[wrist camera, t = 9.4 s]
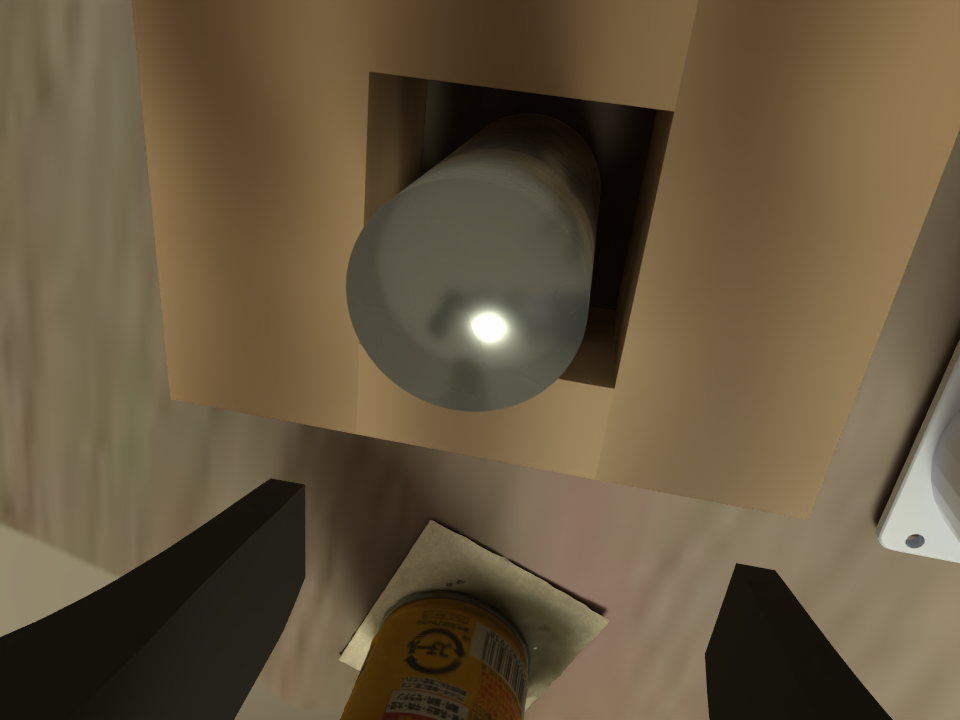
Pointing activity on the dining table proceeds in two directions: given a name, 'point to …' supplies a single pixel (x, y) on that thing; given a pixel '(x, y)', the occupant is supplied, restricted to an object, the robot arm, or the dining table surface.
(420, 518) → the dining table surface
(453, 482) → the dining table surface
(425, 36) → the hole plate
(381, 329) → the long pin
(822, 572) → the dining table surface
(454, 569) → the condiment
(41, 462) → the dining table surface
